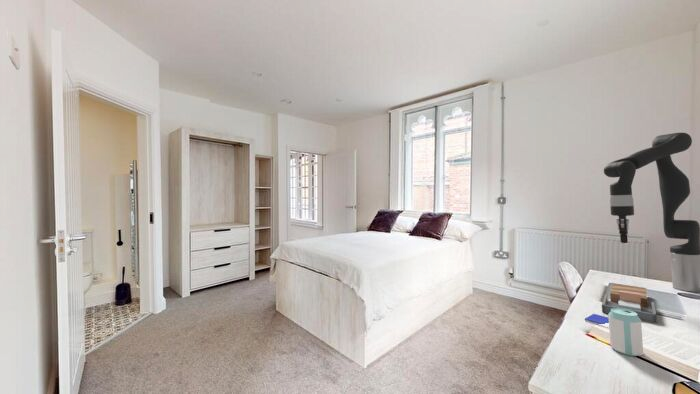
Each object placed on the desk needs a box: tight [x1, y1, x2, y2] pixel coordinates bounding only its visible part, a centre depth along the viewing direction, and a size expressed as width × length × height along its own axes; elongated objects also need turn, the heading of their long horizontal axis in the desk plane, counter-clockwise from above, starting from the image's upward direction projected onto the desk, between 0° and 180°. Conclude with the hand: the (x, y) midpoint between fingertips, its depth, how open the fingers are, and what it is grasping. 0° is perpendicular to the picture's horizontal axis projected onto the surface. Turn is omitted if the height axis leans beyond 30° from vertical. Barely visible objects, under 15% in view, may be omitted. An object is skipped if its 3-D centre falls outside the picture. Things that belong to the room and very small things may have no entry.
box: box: [601, 294, 658, 324], centre depth 109 cm, size 16×15×3 cm
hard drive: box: [584, 313, 609, 326], centre depth 99 cm, size 2×8×12 cm
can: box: [607, 308, 644, 357], centre depth 82 cm, size 7×7×12 cm
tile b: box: [619, 301, 641, 311], centre depth 108 cm, size 6×6×2 cm
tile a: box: [619, 290, 641, 307], centre depth 112 cm, size 6×6×2 cm
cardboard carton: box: [609, 282, 649, 308], centre depth 121 cm, size 18×11×4 cm, turn 133°
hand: (624, 242), depth 123 cm, fingers closed
